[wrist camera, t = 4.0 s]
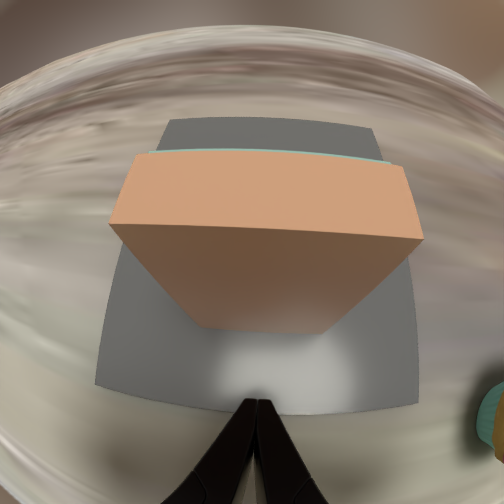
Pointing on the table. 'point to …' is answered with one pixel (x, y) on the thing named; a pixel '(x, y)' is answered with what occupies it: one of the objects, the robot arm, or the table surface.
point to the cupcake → (492, 420)
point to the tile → (266, 233)
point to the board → (261, 343)
